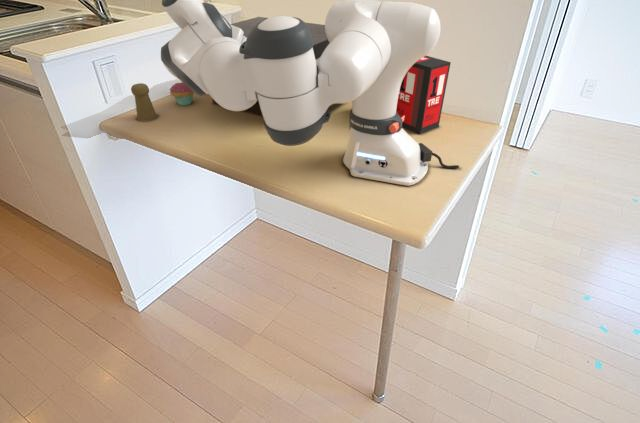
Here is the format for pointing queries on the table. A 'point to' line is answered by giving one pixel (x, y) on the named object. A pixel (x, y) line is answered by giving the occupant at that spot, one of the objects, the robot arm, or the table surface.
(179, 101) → the cupcake
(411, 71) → the cleaning product box
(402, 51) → the robot arm
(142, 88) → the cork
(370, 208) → the table surface
